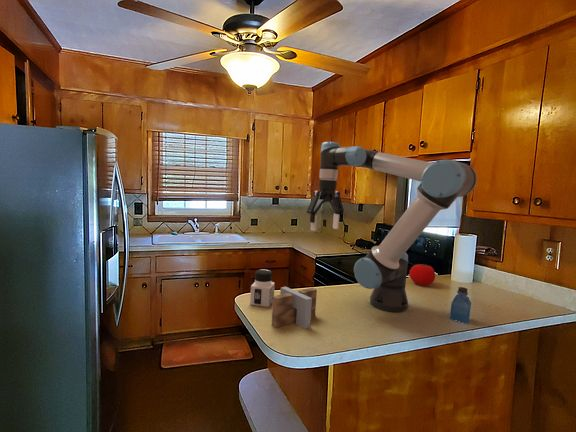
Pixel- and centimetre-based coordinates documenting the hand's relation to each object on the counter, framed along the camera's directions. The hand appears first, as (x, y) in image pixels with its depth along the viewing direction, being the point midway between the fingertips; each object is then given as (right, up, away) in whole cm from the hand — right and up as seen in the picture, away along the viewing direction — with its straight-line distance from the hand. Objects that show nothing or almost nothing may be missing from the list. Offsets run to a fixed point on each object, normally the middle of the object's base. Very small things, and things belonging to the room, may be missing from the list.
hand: (324, 229), depth 144 cm
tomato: (+52, -29, +27) cm, 66 cm away
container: (-26, -29, -10) cm, 40 cm away
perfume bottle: (+50, -34, -16) cm, 62 cm away
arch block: (-14, -31, -25) cm, 42 cm away
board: (-14, -31, -25) cm, 42 cm away
